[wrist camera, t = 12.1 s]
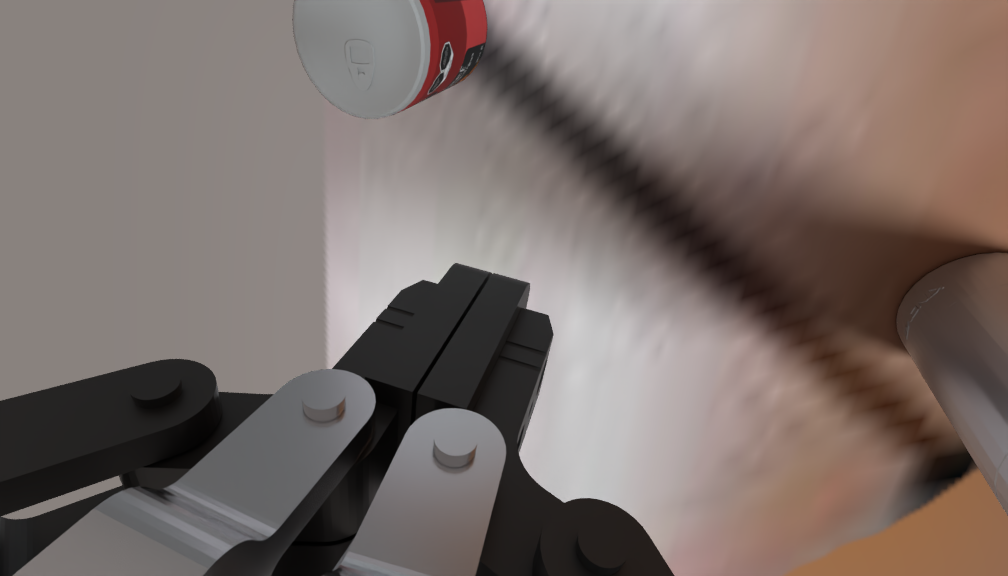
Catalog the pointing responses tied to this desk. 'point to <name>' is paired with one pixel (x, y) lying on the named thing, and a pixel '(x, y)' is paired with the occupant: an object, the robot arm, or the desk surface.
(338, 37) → the canned food
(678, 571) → the desk surface
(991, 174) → the desk surface
